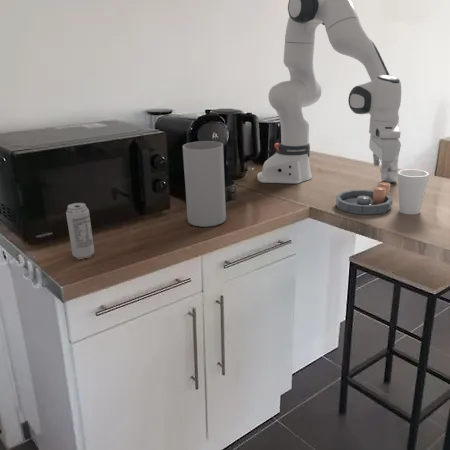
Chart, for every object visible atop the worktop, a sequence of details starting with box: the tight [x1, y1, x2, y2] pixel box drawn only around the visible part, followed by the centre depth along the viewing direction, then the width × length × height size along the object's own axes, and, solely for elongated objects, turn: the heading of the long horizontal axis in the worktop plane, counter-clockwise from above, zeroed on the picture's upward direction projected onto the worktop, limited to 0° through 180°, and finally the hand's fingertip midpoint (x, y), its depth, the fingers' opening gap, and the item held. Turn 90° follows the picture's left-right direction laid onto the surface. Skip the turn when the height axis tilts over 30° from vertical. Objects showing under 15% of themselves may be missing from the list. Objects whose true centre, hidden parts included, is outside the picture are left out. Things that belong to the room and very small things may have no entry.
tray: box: [335, 189, 393, 216], centre depth 174 cm, size 18×18×3 cm
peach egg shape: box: [372, 186, 386, 205], centre depth 173 cm, size 4×4×5 cm
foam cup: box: [397, 168, 430, 216], centre depth 166 cm, size 10×9×13 cm
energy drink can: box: [65, 202, 95, 258], centre depth 141 cm, size 6×6×15 cm
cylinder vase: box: [182, 140, 227, 228], centre depth 162 cm, size 12×12×25 cm
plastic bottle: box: [380, 138, 402, 183], centre depth 196 cm, size 6×7×20 cm
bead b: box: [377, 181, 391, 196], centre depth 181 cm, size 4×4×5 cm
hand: (379, 169), depth 170 cm, fingers open, 8 cm apart
